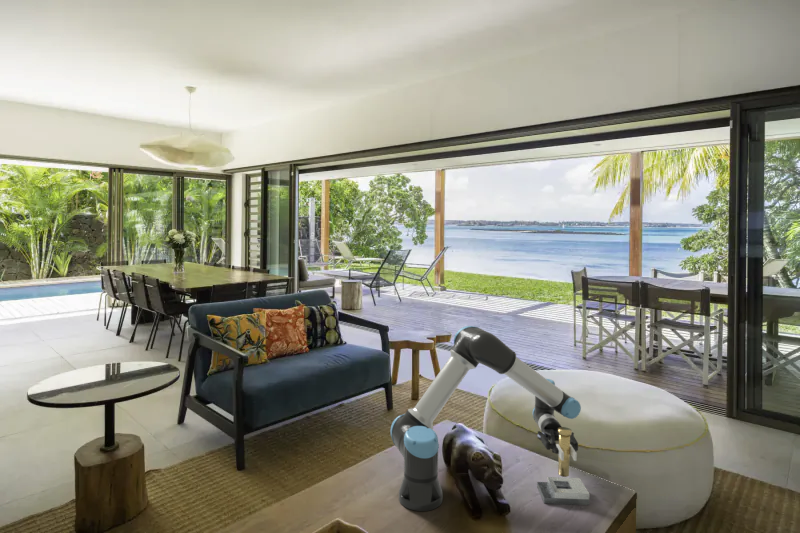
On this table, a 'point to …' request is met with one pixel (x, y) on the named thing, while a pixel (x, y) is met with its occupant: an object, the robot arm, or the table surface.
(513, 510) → the table surface
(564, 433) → the brass pin
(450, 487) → the table surface
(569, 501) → the square hole block
